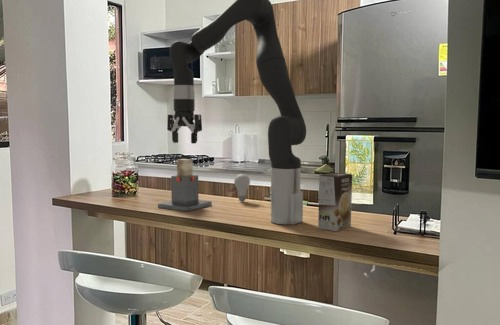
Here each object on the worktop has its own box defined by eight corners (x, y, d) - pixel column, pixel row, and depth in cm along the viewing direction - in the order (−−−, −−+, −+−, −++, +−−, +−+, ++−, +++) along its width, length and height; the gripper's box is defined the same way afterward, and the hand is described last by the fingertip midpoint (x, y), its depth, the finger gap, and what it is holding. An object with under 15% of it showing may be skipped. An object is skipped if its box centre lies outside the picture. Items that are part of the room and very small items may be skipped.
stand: (211, 205, 170) (211, 174, 168) (188, 211, 158) (187, 179, 157) (182, 201, 177) (182, 172, 176) (158, 207, 165) (157, 176, 164)
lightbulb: (241, 203, 172) (241, 175, 171) (231, 201, 177) (231, 173, 176) (253, 201, 176) (253, 174, 175) (243, 199, 181) (242, 172, 180)
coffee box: (336, 232, 130) (337, 176, 128) (317, 228, 134) (318, 174, 132) (351, 226, 137) (352, 173, 135) (332, 223, 141) (333, 172, 139)
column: (193, 200, 168) (192, 159, 166) (185, 202, 164) (185, 160, 163) (184, 199, 170) (183, 158, 168) (177, 201, 166) (176, 159, 165)
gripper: (206, 98, 163) (206, 143, 164) (175, 99, 170) (176, 142, 172) (193, 97, 156) (193, 144, 158) (162, 98, 164) (162, 142, 165)
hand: (184, 143), depth 165 cm, fingers open, 8 cm apart
